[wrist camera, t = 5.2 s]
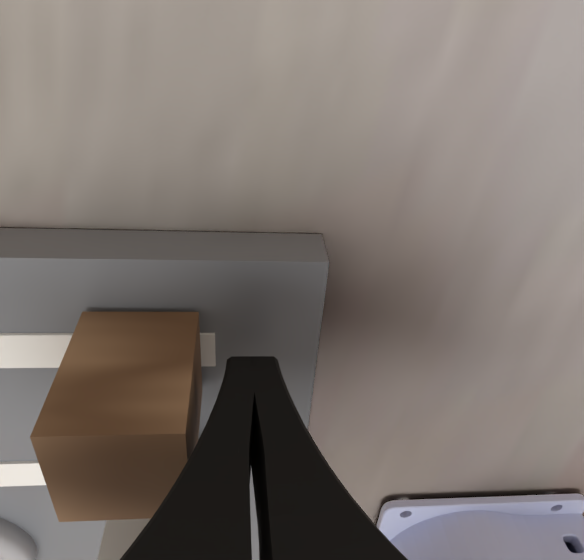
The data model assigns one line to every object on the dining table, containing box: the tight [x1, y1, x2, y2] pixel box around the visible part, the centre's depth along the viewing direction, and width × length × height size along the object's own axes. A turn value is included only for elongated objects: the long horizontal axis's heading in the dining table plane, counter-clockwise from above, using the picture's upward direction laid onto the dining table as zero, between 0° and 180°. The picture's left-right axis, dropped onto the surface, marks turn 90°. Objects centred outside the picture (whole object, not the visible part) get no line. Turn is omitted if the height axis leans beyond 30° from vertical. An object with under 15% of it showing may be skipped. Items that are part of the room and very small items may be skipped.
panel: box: [0, 228, 329, 560], centre depth 17 cm, size 17×16×2 cm
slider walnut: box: [30, 312, 202, 522], centre depth 13 cm, size 3×3×4 cm
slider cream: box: [97, 519, 150, 560], centre depth 16 cm, size 3×3×4 cm
